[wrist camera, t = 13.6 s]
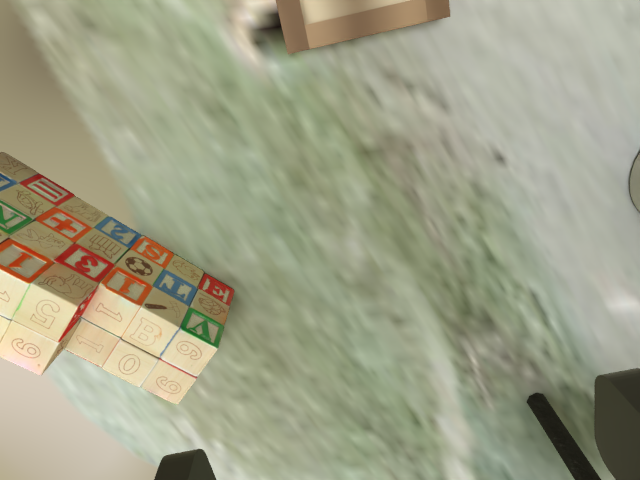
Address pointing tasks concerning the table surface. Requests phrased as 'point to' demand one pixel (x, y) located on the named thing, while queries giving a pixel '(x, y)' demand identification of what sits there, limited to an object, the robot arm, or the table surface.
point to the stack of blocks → (99, 291)
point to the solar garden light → (561, 439)
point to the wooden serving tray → (350, 19)
